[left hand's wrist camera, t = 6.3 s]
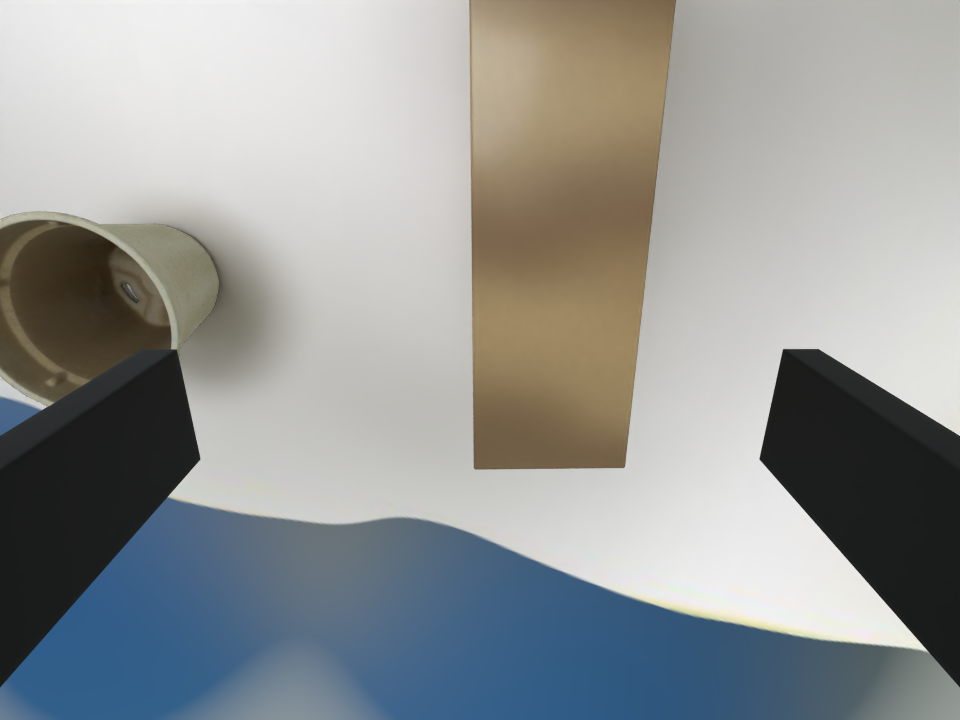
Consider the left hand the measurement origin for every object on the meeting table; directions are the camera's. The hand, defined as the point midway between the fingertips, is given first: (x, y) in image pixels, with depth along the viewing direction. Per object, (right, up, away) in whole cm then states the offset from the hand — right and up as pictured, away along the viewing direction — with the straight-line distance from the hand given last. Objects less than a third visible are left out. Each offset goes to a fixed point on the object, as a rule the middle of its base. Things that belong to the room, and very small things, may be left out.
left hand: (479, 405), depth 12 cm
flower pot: (-18, +6, +20) cm, 28 cm away
